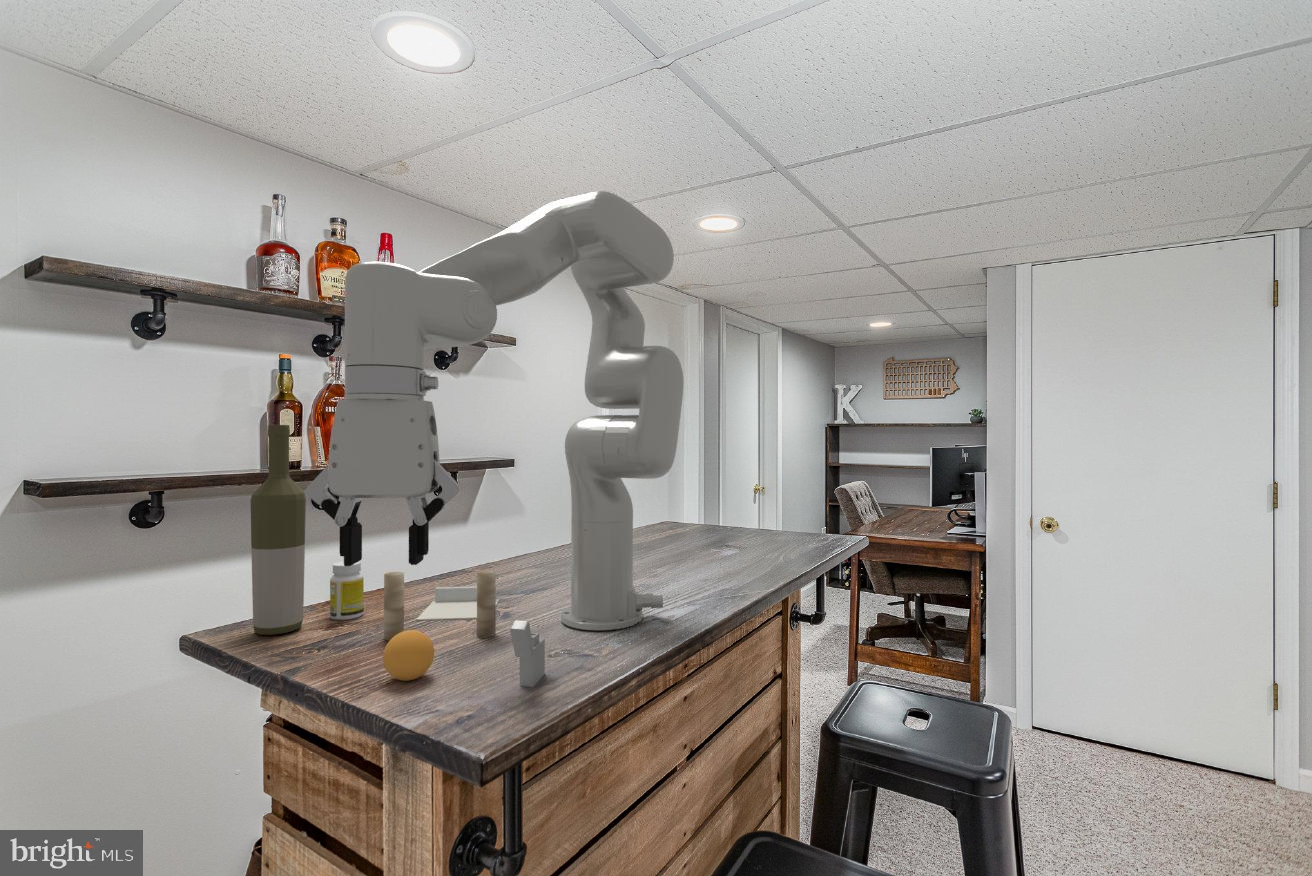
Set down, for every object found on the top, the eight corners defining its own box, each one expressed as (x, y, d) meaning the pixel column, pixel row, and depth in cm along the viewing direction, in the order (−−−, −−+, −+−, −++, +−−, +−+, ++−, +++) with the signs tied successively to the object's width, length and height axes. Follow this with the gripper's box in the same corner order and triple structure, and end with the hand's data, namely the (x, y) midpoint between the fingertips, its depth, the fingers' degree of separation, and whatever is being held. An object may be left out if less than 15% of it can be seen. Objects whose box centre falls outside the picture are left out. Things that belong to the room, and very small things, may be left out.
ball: (439, 669, 78) (439, 623, 78) (427, 687, 72) (427, 637, 72) (391, 670, 77) (391, 624, 77) (376, 689, 71) (376, 639, 71)
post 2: (496, 631, 93) (496, 569, 93) (494, 637, 90) (494, 573, 90) (478, 632, 92) (478, 570, 92) (475, 637, 90) (475, 574, 90)
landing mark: (499, 600, 110) (499, 599, 110) (489, 618, 100) (489, 616, 100) (433, 601, 109) (433, 600, 109) (416, 620, 98) (416, 618, 98)
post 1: (406, 634, 91) (406, 571, 91) (400, 640, 89) (401, 575, 89) (387, 635, 91) (387, 572, 91) (381, 640, 88) (381, 575, 88)
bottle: (295, 637, 90) (295, 424, 90) (240, 639, 89) (241, 424, 89) (313, 622, 97) (313, 425, 97) (263, 624, 96) (263, 425, 96)
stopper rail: (496, 600, 110) (496, 585, 110) (495, 601, 109) (495, 587, 109) (436, 601, 109) (436, 587, 109) (435, 603, 108) (435, 588, 108)
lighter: (531, 672, 77) (531, 606, 77) (545, 673, 76) (545, 606, 76) (509, 696, 70) (509, 623, 70) (524, 697, 69) (524, 623, 69)
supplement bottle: (369, 612, 103) (369, 560, 103) (352, 620, 98) (352, 566, 98) (341, 611, 103) (341, 559, 103) (323, 619, 98) (323, 565, 98)
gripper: (477, 390, 70) (476, 554, 70) (313, 389, 68) (312, 557, 68) (463, 385, 63) (463, 568, 63) (279, 383, 61) (279, 572, 61)
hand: (384, 561), depth 66 cm, fingers open, 5 cm apart
